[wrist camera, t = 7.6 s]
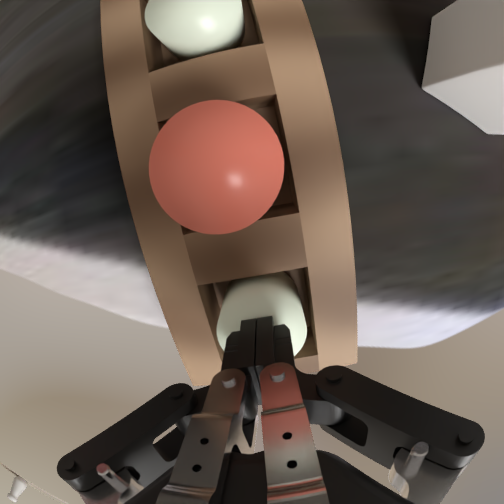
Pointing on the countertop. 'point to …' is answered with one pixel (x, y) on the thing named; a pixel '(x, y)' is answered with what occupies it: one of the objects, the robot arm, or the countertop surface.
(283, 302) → the cream white sphere
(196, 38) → the pale green sphere
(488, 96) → the milk carton
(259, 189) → the red ball
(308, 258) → the wooden ball rack
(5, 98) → the countertop surface
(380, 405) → the robot arm
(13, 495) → the salt shaker
